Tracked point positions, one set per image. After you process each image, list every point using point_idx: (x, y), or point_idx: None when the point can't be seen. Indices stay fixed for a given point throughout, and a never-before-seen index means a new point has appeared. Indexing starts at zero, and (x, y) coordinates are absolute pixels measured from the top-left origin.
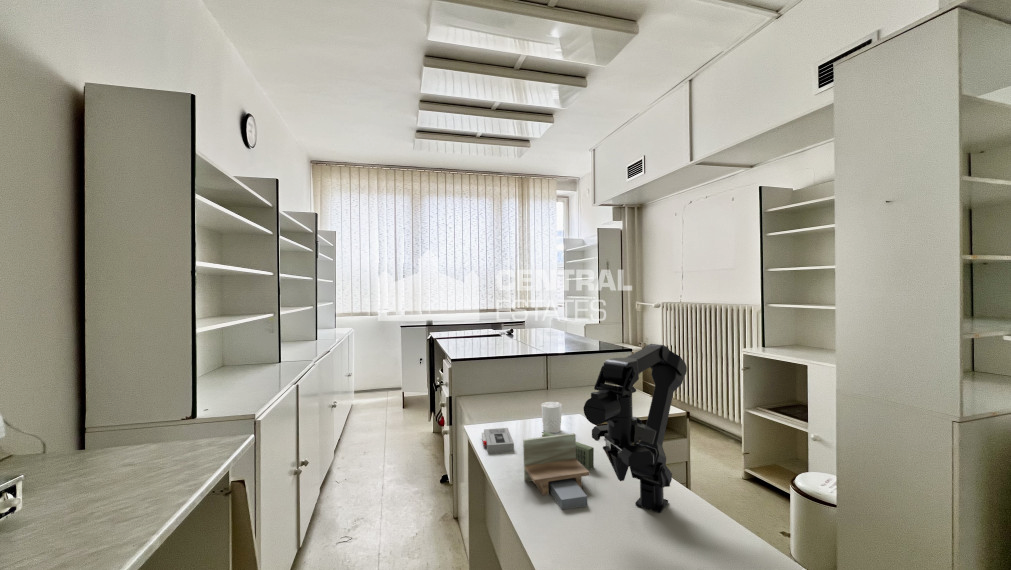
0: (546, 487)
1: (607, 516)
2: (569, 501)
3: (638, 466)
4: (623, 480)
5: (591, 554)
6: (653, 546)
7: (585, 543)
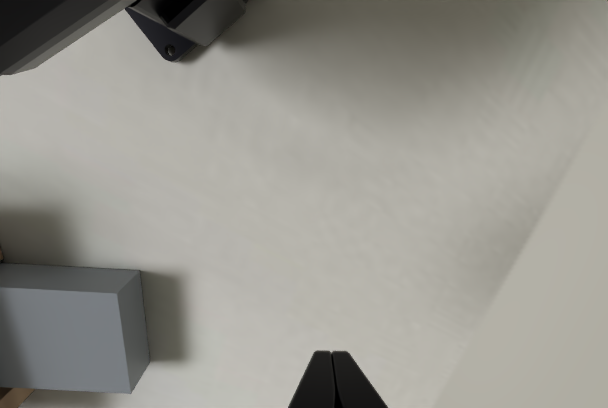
0: (11, 399)
1: (232, 233)
2: (133, 356)
3: (58, 13)
4: (347, 355)
5: (416, 373)
6: (472, 172)
7: (361, 368)
